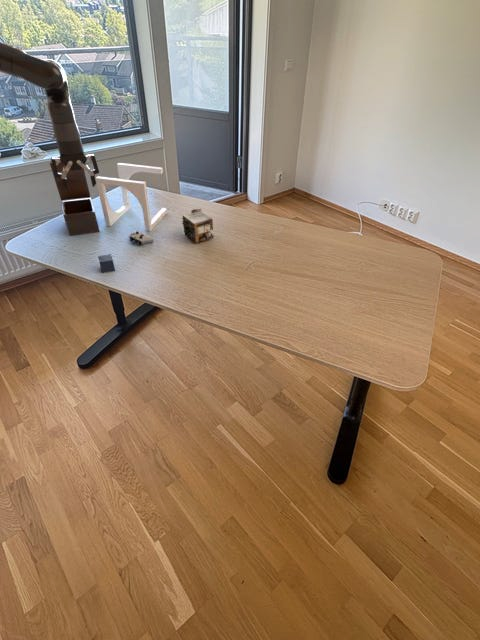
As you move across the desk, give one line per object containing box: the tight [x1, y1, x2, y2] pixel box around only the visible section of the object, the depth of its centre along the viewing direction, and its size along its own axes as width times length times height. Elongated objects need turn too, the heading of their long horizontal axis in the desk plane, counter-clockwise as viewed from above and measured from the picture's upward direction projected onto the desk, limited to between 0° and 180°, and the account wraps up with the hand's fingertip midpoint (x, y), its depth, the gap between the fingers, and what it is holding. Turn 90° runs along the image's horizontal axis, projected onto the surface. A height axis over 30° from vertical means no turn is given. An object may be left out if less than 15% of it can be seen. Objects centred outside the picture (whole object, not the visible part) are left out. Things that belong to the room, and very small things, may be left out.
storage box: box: [60, 197, 101, 237], centre depth 144 cm, size 15×12×9 cm
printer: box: [181, 208, 215, 243], centre depth 140 cm, size 11×25×10 cm, turn 24°
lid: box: [49, 161, 91, 201], centre depth 141 cm, size 15×12×5 cm
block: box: [97, 253, 116, 274], centre depth 122 cm, size 4×4×4 cm
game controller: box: [128, 230, 155, 246], centre depth 138 cm, size 10×5×6 cm
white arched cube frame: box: [95, 162, 168, 233], centre depth 148 cm, size 20×20×20 cm
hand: (80, 187), depth 122 cm, fingers open, 8 cm apart
